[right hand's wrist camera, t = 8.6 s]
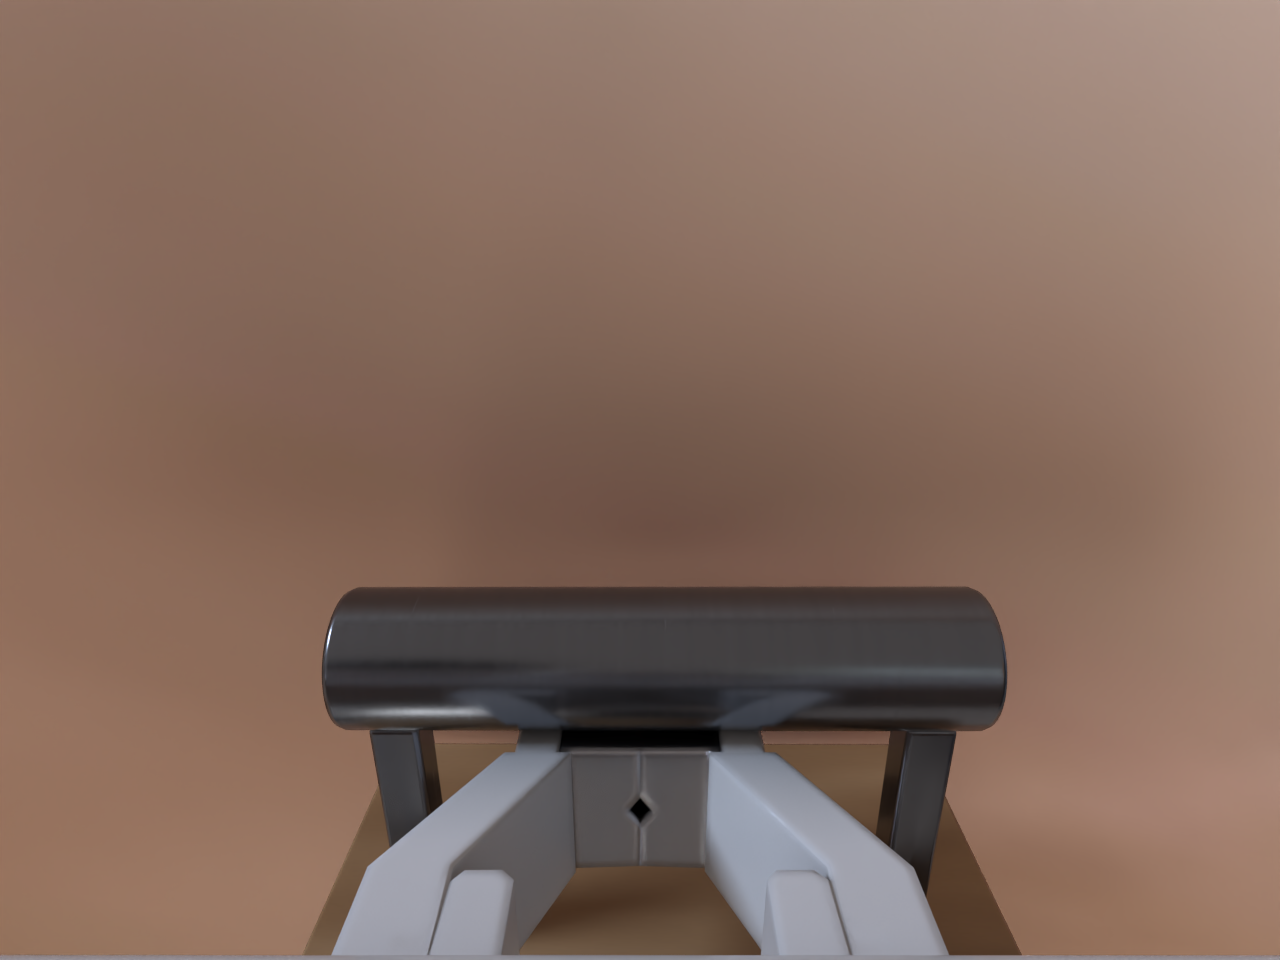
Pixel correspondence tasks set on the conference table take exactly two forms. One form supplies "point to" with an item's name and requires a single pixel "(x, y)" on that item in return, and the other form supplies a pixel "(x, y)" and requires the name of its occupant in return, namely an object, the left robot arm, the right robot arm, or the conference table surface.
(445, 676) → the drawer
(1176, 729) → the conference table surface
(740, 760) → the right robot arm
